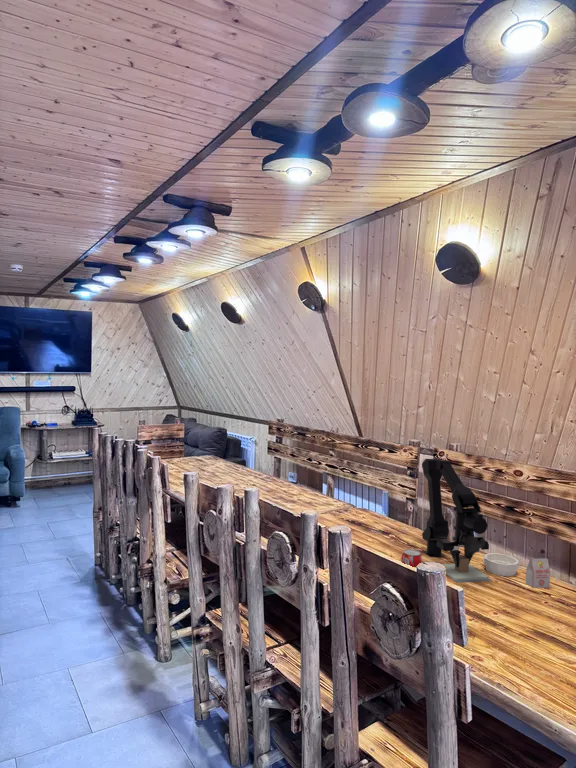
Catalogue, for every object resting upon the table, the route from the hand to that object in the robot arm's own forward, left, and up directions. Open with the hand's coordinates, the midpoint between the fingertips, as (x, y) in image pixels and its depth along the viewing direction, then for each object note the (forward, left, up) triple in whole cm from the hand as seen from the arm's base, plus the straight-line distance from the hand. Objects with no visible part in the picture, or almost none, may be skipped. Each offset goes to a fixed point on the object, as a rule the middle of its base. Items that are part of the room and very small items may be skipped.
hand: (461, 566), depth 191 cm
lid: (0, 0, -2) cm, 2 cm away
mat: (0, 0, -3) cm, 3 cm away
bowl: (0, +16, -3) cm, 17 cm away
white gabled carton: (+14, +21, -3) cm, 26 cm away
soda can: (+8, -25, -3) cm, 26 cm away
